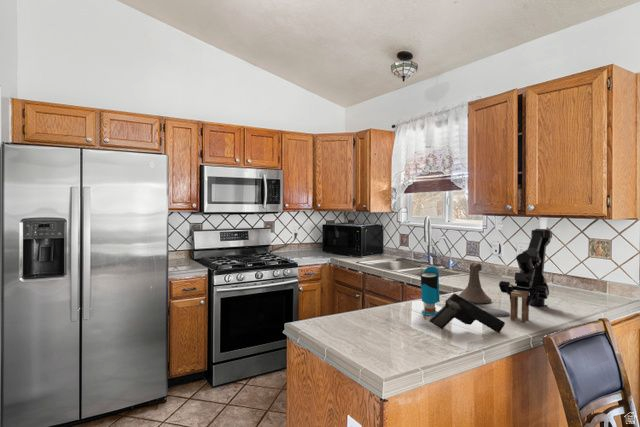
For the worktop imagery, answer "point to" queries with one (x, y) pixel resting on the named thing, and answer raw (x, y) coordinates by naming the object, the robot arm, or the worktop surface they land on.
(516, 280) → the robot arm
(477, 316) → the handgun
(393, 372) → the worktop surface
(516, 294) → the stool
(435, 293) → the security camera
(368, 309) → the worktop surface
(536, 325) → the worktop surface
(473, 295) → the sculpture
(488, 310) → the mat
